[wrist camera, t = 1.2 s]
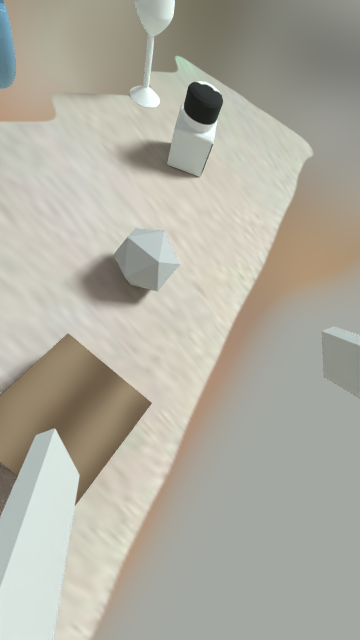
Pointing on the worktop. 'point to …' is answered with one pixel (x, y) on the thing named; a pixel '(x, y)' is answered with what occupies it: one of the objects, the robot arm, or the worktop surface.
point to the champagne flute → (151, 43)
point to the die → (146, 258)
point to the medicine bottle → (195, 128)
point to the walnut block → (69, 410)
